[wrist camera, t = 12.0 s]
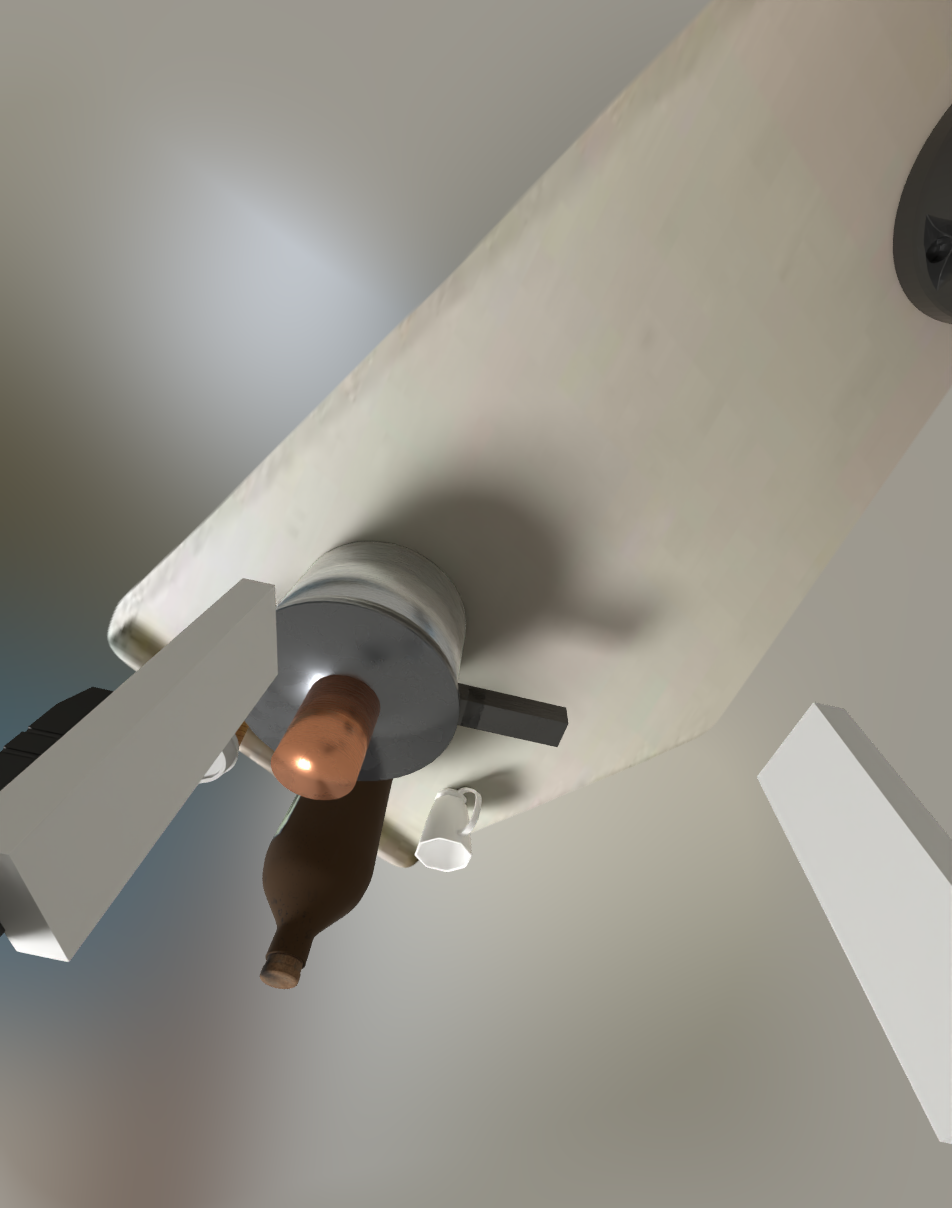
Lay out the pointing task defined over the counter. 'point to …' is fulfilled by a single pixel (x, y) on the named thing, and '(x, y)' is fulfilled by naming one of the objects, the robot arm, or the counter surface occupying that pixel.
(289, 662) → the cooker lid
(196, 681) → the robot arm
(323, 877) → the olive oil
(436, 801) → the cup
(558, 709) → the cooker body
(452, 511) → the counter surface
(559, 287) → the counter surface
